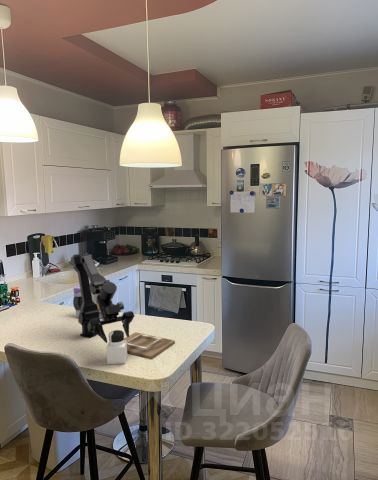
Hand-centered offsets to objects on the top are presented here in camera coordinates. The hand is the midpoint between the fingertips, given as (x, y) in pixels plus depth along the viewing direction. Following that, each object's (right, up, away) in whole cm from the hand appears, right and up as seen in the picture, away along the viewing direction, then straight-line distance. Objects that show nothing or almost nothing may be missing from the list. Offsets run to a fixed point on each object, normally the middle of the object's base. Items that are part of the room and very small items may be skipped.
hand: (117, 339), depth 152 cm
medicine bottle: (-1, -9, +2) cm, 10 cm away
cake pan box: (-24, -2, +54) cm, 59 cm away
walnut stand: (+8, -7, +16) cm, 19 cm away
